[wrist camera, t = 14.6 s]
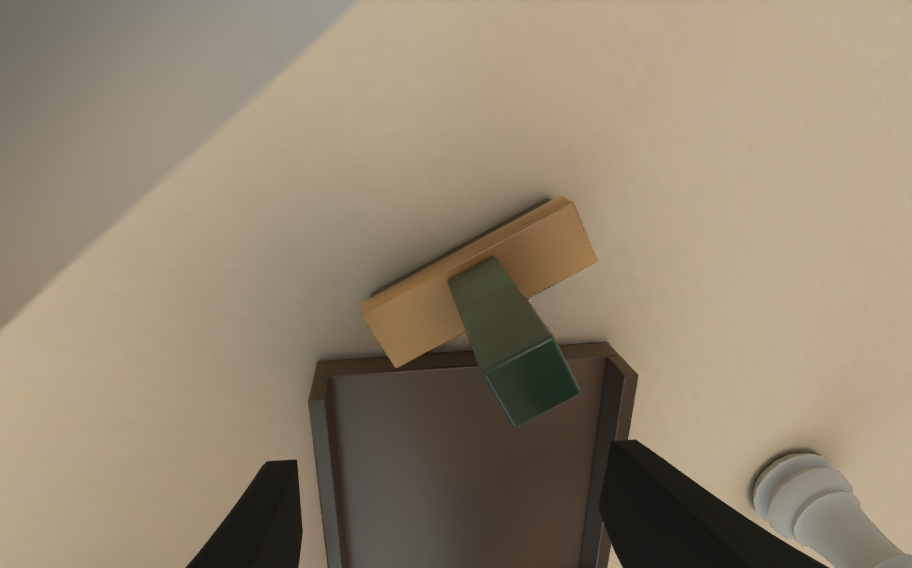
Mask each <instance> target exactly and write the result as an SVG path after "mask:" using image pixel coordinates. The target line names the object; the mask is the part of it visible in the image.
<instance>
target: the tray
mask: <svg viewBox="0 0 912 568" xmlns="http://www.w3.org/2000/svg"><path fill="white" fill-rule="evenodd" d="M559 348H560V350H561V352H562V354H563V356H564V358H565V360H566V362H567V364H568V366H569V368H570V370H571V372H572V374H573V376H574V378H575V380H576V382H577V385H578V387H579V389H580V394H579V395H578V396H576V397H574V398H572V399H570V400H568V401H566V402H564V403H562V404H560V405H559V406H557V407H555V408H553V409H551V410H549V411H547V412H545V413H543V414H541V415H539V416H537V417H535V418H534V419H532V420H530V421H528V422H526V423H524V424H522V425H520V426H518V427H513V426H512V425H511V424H510V422H509V420H508V418H507V417H506V415H505V413H504V412H503V410H502V408H501V406H500V405H499V403H498V401H497V400H496V398H495V396H494V394H493V393H492V391H491V389H490V388H489V386H488V384H487V382H486V381H485V379H484V377H483V376H482V373H481V371H480V368H479V365H478V363H477V360H476V357H475V355H474V352H473V351H468V352H453V353H438V354H422V355H421V356H419V357H417V358H415V359H413V360H411V361H409V362H407V363H406V364H404V365H402V366H400V367H398V368H395V367H394V365H393V364H392V362H391V361H390V359H389V358H388V357H377V358H362V359H347V360H331V361H319V362H317V365H316V370H315V374H314V379H313V382H312V387H311V391H310V395H309V399H308V404H309V412H310V421H311V429H312V438H313V446H314V455H315V463H316V471H317V480H318V488H319V497H320V505H321V514H322V522H323V531H324V539H325V547H326V556H327V564H328V568H607V567H608V560H609V554H610V548H611V541H610V538H609V536H608V533H607V531H606V528H605V525H604V523H603V520H602V517H601V515H600V512H599V509H598V507H599V501H600V496H601V491H602V486H603V481H604V476H605V471H606V466H607V460H608V455H609V450H610V445H611V441H620V440H628V436H629V430H630V424H631V418H632V412H633V405H634V399H635V393H636V387H637V381H638V374H637V373H636V372H635V371H634V370H633V369H632V368H631V367H630V366H629V365H628V364H627V362H626V361H625V360H624V359H623V358H622V357H620V356H619V354H618V353H617V352H616V351H615V350H614V349H613V348H612V347H611V346H610V345H609V343H607V342H604V343H589V344H574V345H559Z"/></svg>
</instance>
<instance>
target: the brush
mask: <svg viewBox="0 0 912 568" xmlns="http://www.w3.org/2000/svg"><path fill="white" fill-rule="evenodd" d="M596 262H597V258H596V256H595V253H594V251H593V249H592V246H591V244H590V241H589V239H588V236H587V234H586V232H585V229H584V227H583V224H582V222H581V219H580V217H579V215H578V212H577V210H576V207H575V205H574V203H573V202H572V201H570V200H568V199H566V198H565V197H563V196H559V197H557V198H555V199H553V200H551V199H546V200H544V201H542V202H540V203H539V204H537V205H535V206H533V207H531V208H529V209H527V210H526V211H524V212H522V213H520V214H518V215H516V216H514V217H513V218H511V219H509V220H507V221H505V222H503V223H501V224H500V225H498V226H496V227H494V228H492V229H490V230H489V231H487V232H485V233H483V234H481V235H479V236H477V237H476V238H474V239H472V240H470V241H468V242H466V243H464V244H463V245H461V246H459V247H457V248H455V249H453V250H451V251H450V252H448V253H446V254H444V255H442V256H440V257H438V258H437V259H435V260H433V261H431V262H429V263H427V264H426V265H424V266H422V267H420V268H418V269H416V270H414V271H413V272H411V273H409V274H407V275H405V276H403V277H401V278H400V279H398V280H396V281H394V282H392V283H390V284H388V285H387V286H385V287H383V288H381V289H379V290H377V291H375V292H374V293H372V294H371V298H370V299H368V300H366V301H364V302H363V303H362V310H361V317H362V319H363V320H364V322H365V323H366V325H367V326H368V328H369V329H370V331H371V332H372V334H373V335H374V337H375V338H376V340H377V341H378V343H379V344H380V346H381V347H382V349H383V350H384V352H385V353H386V355H387V356H388V358H389V359H390V361H391V362H392V364H393V365H394V367H395V368H398V367H400V366H402V365H404V364H406V363H407V362H409V361H411V360H413V359H415V358H417V357H419V356H421V355H422V354H424V353H426V352H428V351H430V350H432V349H434V348H436V347H438V346H439V345H441V344H443V343H445V342H447V341H449V340H451V339H453V338H454V337H456V336H458V335H460V334H462V333H464V332H466V333H467V336H468V339H469V341H470V344H471V347H472V349H473V352H474V355H475V357H476V360H477V363H478V365H479V368H480V371H481V373H482V376H483V377H484V379H485V381H486V382H487V384H488V386H489V388H490V389H491V391H492V393H493V394H494V396H495V398H496V400H497V401H498V403H499V405H500V406H501V408H502V410H503V412H504V413H505V415H506V417H507V418H508V420H509V422H510V424H511V425H512V426H513V427H518V426H520V425H522V424H524V423H526V422H528V421H530V420H532V419H534V418H535V417H537V416H539V415H541V414H543V413H545V412H547V411H549V410H551V409H553V408H555V407H557V406H559V405H560V404H562V403H564V402H566V401H568V400H570V399H572V398H574V397H576V396H578V395H579V394H580V389H579V387H578V385H577V382H576V380H575V378H574V376H573V374H572V372H571V370H570V368H569V366H568V364H567V362H566V360H565V358H564V356H563V354H562V352H561V350H560V348H559V346H558V344H557V341H556V339H555V337H554V336H553V334H552V333H551V332H550V330H549V329H548V328H547V326H546V325H545V324H544V322H543V321H542V319H541V318H540V317H539V315H538V314H537V313H536V311H535V310H534V309H533V307H532V306H531V305H530V303H529V302H528V300H527V299H528V298H530V297H532V296H533V295H535V294H537V293H539V292H541V291H543V290H545V289H547V288H549V287H550V286H552V285H554V284H556V283H558V282H560V281H562V280H564V279H565V278H567V277H569V276H571V275H573V274H575V273H577V272H579V271H581V270H582V269H584V268H586V267H588V266H590V265H592V264H594V263H596Z"/></svg>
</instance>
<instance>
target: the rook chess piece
mask: <svg viewBox="0 0 912 568" xmlns="http://www.w3.org/2000/svg"><path fill="white" fill-rule="evenodd" d="M753 500H754V505H755V510H756V513H757V514H758V515H759V516H760V517H761V518H763V519H764V520H766V521H769V524H770V526H771V527H772V528H773V529H774V530H775V531H776V532H777V533H779V534H780V535H782V536H783V537H785V538H788V539H792V540H796V541H797V542H798V543H799V544H800V545H801V546H805V547H810V548H811V549H813V550H814V551H816V552H817V553H819V554H820V555H821V556H823V557H824V558H825V559H826V560H827V561H829V562H830V563H831V564H832V565H833V566H835V567H836V568H912V555H909V554H905V553H904V552H903V551H901V550H900V549H899V548H898V547H897V546H896V545H894V544H893V543H892V542H891V541H890V540H889V539H887V537H886V536H885V535H884V534H883V533H882V532H881V531H880V530H879V529H878V528H877V527H876V526H875V525H874V524H873V523H872V521H871V520H870V519H869V518H868V517H867V516H866V515H865V513H864V512H863V510H862V509H861V508H860V501H859V500H858V499H857V498H856V497H855V496H854V495H853V491H852V486H851V484H850V483H849V482H848V480H847V479H846V478H845V477H844V476H843V474H842V473H841V472H840V471H838V470H834V469H833V466H832V465H831V464H830V463H829V461H828V460H827V459H826V458H825V457H821V456H818V455H814V454H808V453H796V454H789V455H786V456H784V457H782V458H779V459H777V460H775V461H774V462H773V463H771V464H770V465H769V466H768V467H766V468H765V469H764V470H763V472H762V473H761V474H760V476H759V477H758V479H757V480H756V482H755V486H754V490H753Z"/></svg>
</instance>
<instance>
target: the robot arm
mask: <svg viewBox="0 0 912 568" xmlns="http://www.w3.org/2000/svg"><path fill="white" fill-rule="evenodd" d="M598 509H599V512H600V515H601V517H602V520H603V523H604V525H605V528H606V531H607V533H608V536H609V538H610V541H611V543H612V546H613V548H614V551H615V553H616V555H617V557H618V559H619V561H620V563H621V565H622V567H623V568H829V567H827V566H825V565H823V564H822V563H820V562H818V561H816V560H815V559H813V558H811V557H809V556H808V555H806V554H804V553H802V552H801V551H799V550H797V549H795V548H794V547H792V546H790V545H789V544H787V543H785V542H784V541H782V540H780V539H779V538H777V537H776V536H774V535H772V534H771V533H769V532H768V531H766V530H765V529H763V528H762V527H760V526H759V525H757V524H755V523H754V522H752V521H751V520H749V519H748V518H746V517H745V516H743V515H742V514H740V513H739V512H737V511H736V510H734V509H733V508H731V507H730V506H728V505H727V504H725V503H724V502H723V501H721V500H720V499H718V498H717V497H715V496H714V495H713V494H711V493H710V492H708V491H707V490H705V489H704V488H703V487H701V486H700V485H698V484H697V483H696V482H694V481H693V480H692V479H690V478H689V477H687V476H686V475H685V474H683V473H682V472H681V471H679V470H678V469H676V468H675V467H674V466H672V465H671V464H670V463H668V462H667V461H665V460H664V459H663V458H661V457H660V456H658V455H657V454H656V453H654V452H653V451H651V450H650V449H649V448H647V447H646V446H644V445H643V444H641V443H640V442H638V441H637V440H620V441H611V445H610V450H609V455H608V460H607V466H606V471H605V476H604V481H603V486H602V491H601V496H600V501H599V507H598ZM302 533H303V531H302V518H301V505H300V493H299V480H298V467H297V460H281V461H267V462H266V463H265V464H264V465H263V466H262V467H261V469H260V470H259V472H258V473H257V475H256V476H255V478H254V479H253V481H252V482H251V483H250V485H249V486H248V488H247V489H246V491H245V492H244V493H243V495H242V496H241V498H240V499H239V500H238V502H237V503H236V505H235V506H234V507H233V509H232V510H231V511H230V513H229V514H228V515H227V517H226V518H225V519H224V521H223V522H222V523H221V524H220V526H219V527H218V528H217V530H216V531H215V532H214V534H213V535H212V536H211V537H210V539H209V540H208V541H207V543H206V544H205V545H204V546H203V548H202V549H201V550H200V551H199V552H198V554H197V555H196V556H195V557H194V558H193V560H192V561H191V562H190V563H189V564H188V565H187V567H186V568H298V566H299V558H300V550H301V541H302Z"/></svg>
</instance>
